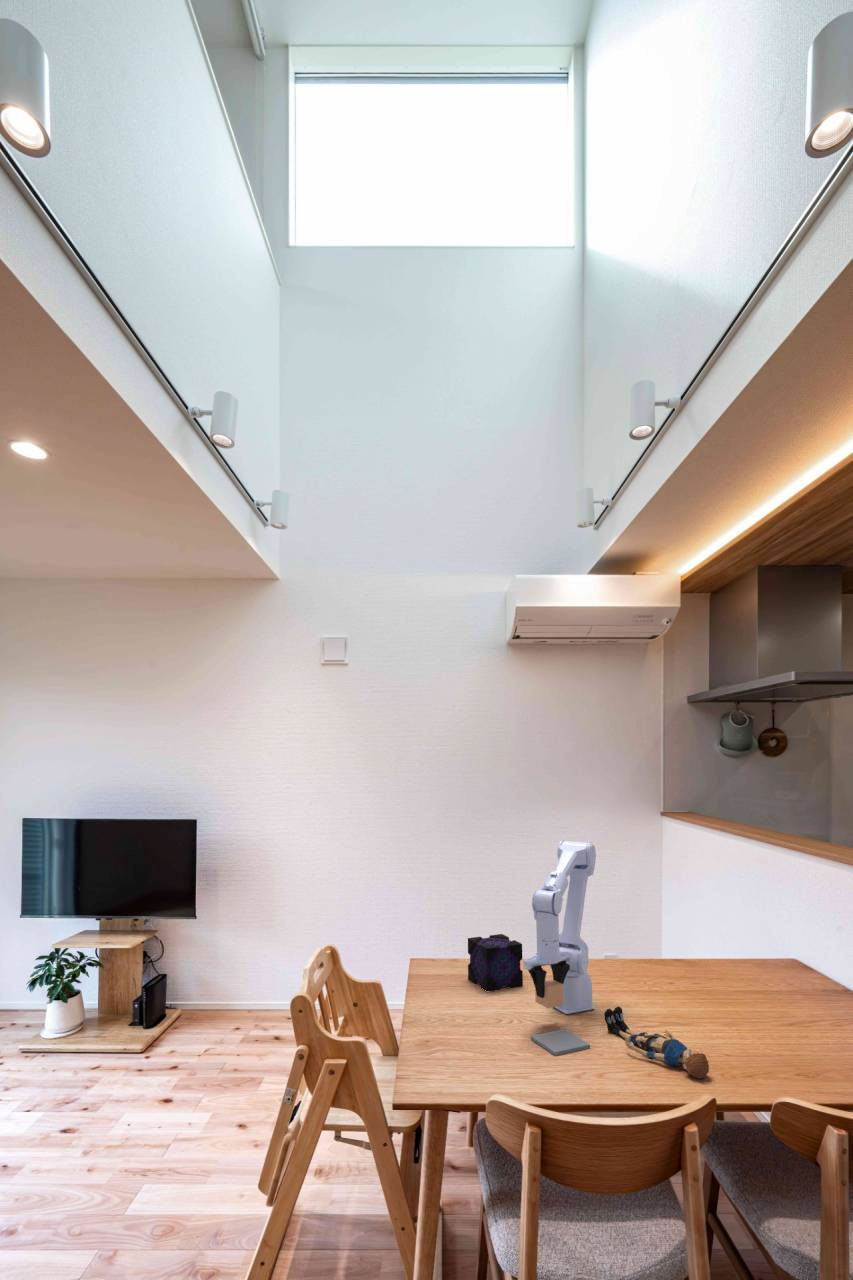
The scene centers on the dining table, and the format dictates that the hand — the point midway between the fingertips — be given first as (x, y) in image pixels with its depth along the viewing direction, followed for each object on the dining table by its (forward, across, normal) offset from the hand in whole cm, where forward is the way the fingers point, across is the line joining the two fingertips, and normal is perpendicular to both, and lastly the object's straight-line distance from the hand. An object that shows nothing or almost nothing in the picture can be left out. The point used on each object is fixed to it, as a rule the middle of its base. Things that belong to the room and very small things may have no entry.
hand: (549, 994), depth 181 cm
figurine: (+8, -11, +24) cm, 28 cm away
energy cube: (+8, -6, -34) cm, 35 cm away
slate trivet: (+7, +5, +10) cm, 13 cm away
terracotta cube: (+2, 0, 0) cm, 2 cm away
